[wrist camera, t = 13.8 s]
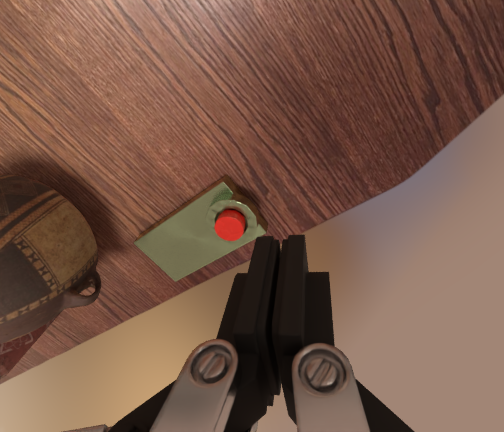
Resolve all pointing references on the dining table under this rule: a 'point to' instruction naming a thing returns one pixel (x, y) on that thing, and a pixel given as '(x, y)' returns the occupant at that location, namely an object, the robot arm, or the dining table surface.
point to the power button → (230, 225)
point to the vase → (41, 256)
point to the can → (18, 348)
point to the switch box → (199, 230)
